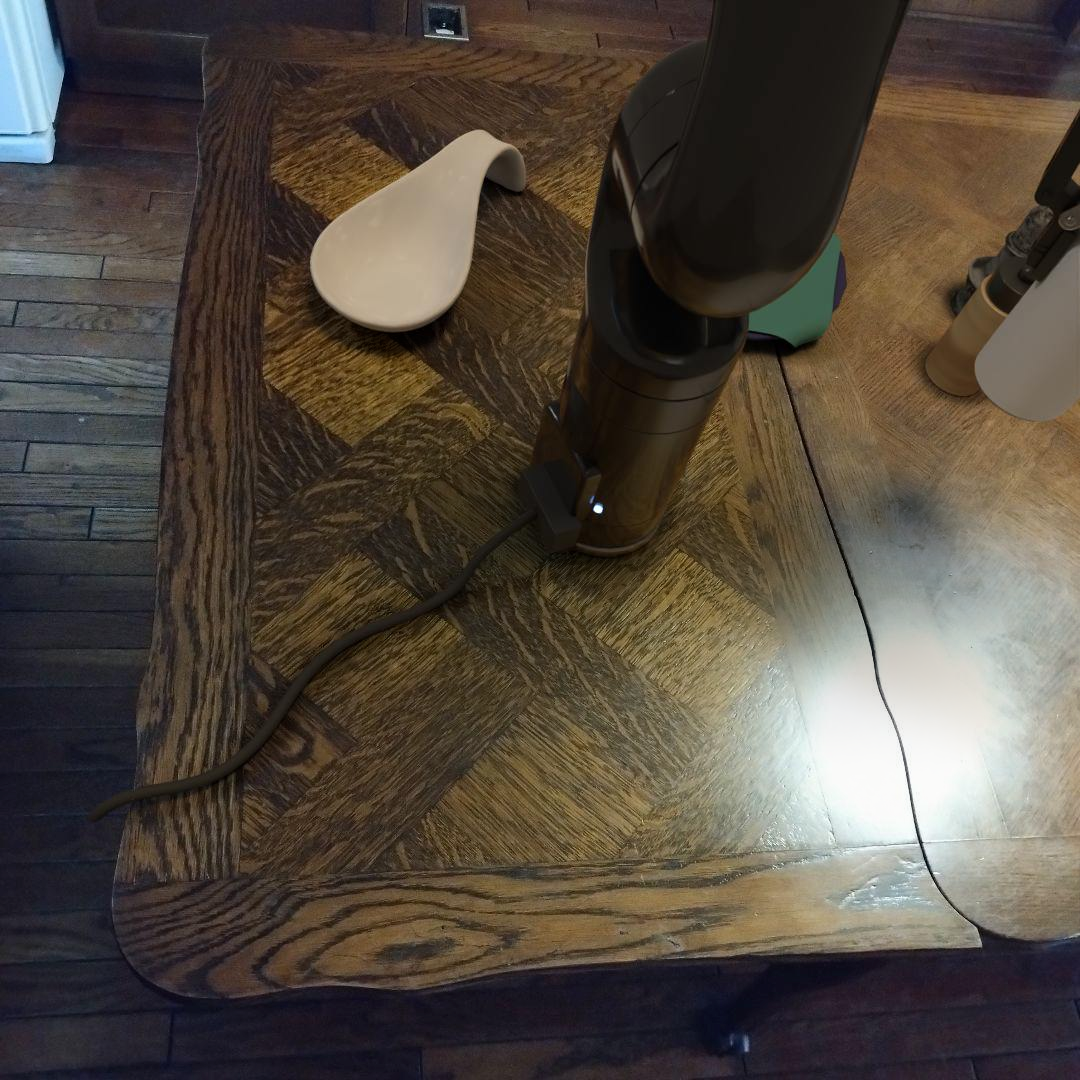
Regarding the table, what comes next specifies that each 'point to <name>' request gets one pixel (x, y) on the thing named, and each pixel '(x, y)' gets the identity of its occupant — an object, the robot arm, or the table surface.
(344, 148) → the table surface
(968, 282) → the ornate chess piece
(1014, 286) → the pepper mill
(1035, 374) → the can
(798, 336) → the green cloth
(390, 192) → the spoon rest
